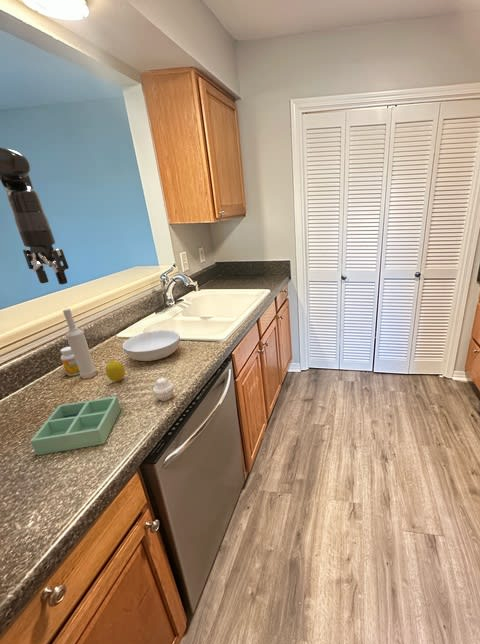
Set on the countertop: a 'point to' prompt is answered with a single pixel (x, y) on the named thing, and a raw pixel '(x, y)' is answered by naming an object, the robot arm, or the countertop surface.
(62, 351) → the supplement bottle
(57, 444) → the compartment tray
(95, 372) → the bottle
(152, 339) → the serving bowl
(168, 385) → the muffin
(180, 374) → the countertop surface
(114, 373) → the lemon
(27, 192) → the robot arm
